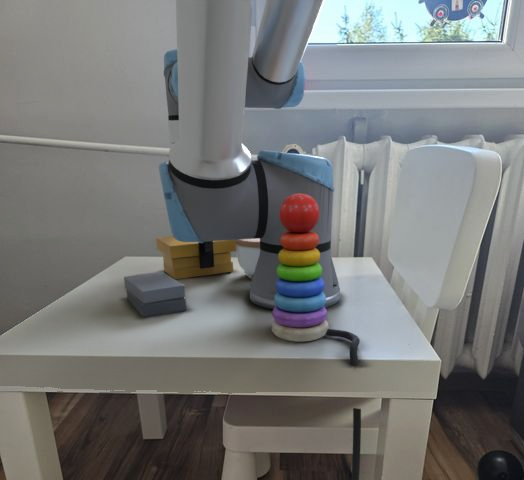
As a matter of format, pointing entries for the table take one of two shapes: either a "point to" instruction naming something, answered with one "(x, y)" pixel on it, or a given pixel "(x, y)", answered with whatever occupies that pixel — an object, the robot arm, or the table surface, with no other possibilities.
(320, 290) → the stacking toy
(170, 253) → the mustard block
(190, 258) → the mustard pile
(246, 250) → the white bowl
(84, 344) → the table surface
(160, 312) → the grey pile
